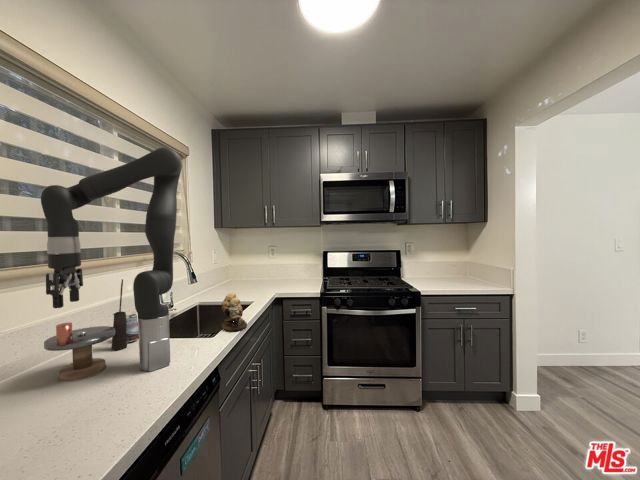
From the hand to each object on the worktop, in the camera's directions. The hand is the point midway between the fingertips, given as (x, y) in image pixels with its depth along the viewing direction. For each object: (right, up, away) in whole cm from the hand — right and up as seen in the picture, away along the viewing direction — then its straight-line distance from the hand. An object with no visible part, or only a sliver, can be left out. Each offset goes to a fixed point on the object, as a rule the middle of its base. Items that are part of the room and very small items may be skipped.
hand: (66, 304), depth 85 cm
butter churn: (-3, -24, +26) cm, 36 cm away
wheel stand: (-2, -25, +8) cm, 26 cm away
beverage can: (-4, -24, +35) cm, 43 cm away
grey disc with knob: (-2, -14, +7) cm, 15 cm away
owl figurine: (+36, -23, +51) cm, 67 cm away
